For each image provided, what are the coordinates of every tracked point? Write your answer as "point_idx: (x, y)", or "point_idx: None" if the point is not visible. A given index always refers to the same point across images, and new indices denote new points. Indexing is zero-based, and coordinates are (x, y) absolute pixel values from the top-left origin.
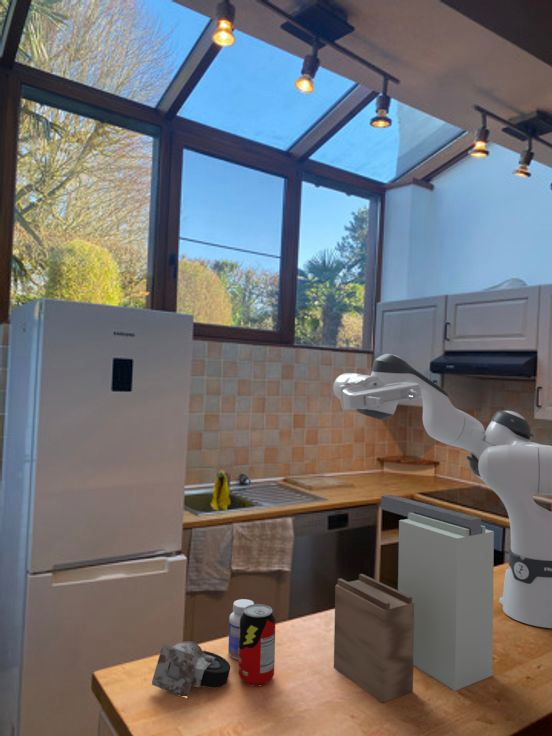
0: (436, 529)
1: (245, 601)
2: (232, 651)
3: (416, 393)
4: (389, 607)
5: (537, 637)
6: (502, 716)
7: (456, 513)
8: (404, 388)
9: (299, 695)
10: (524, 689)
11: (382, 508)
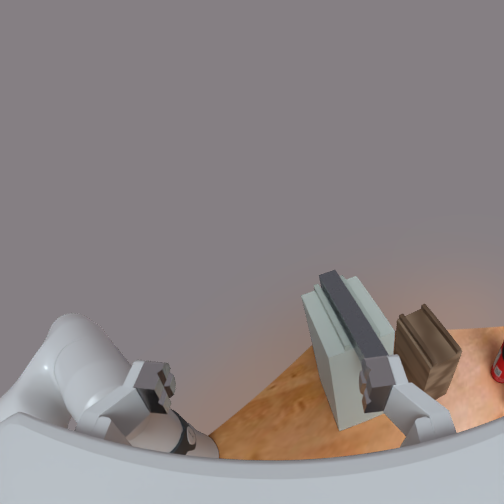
0: (363, 299)
1: None
2: None
3: (145, 361)
4: (421, 307)
5: (229, 425)
6: None
7: (335, 289)
8: (105, 441)
9: (472, 357)
10: (308, 363)
11: None
